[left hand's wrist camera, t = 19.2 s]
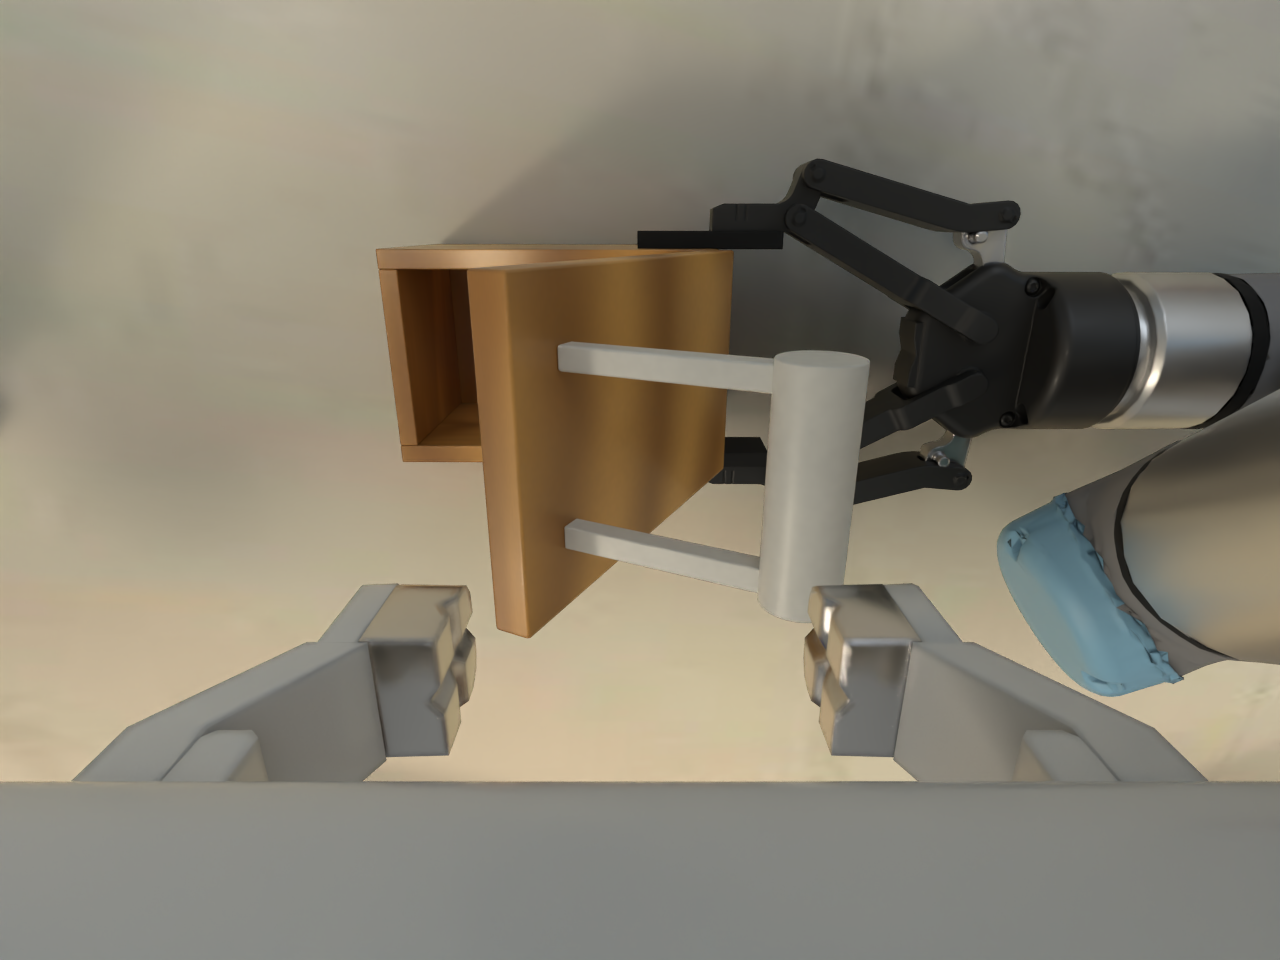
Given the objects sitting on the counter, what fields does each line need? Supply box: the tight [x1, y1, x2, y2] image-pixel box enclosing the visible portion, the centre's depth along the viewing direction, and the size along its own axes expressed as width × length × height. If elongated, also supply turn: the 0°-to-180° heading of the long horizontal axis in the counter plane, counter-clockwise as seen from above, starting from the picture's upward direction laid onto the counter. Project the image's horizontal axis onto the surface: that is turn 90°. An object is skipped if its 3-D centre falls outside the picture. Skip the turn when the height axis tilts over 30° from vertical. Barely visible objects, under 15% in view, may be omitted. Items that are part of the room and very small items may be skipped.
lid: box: [467, 250, 870, 638], centre depth 22 cm, size 16×10×9 cm
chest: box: [376, 244, 718, 462], centre depth 35 cm, size 15×10×9 cm, turn 90°
